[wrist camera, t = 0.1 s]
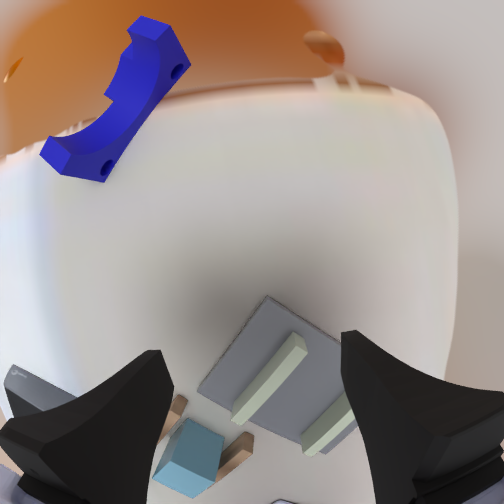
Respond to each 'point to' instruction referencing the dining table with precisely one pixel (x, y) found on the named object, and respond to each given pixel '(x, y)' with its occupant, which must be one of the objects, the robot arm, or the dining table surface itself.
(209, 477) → the blue rectangular block
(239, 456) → the cradle
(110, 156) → the blue cradle holder
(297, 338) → the dock
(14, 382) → the external hard drive
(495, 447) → the robot arm
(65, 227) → the dining table surface
